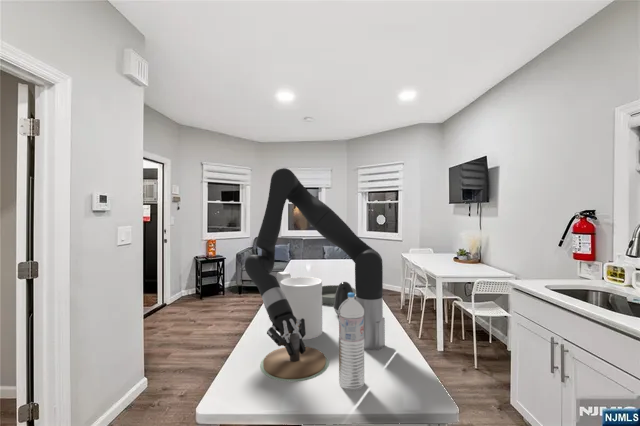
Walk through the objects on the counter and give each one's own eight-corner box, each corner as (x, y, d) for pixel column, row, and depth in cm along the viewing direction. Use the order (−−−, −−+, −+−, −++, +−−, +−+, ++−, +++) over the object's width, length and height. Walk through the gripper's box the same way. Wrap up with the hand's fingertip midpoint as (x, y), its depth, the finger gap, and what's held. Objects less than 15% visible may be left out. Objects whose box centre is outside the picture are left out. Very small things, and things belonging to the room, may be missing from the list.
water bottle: (348, 376, 89) (347, 288, 89) (369, 384, 85) (368, 292, 85) (333, 386, 84) (333, 293, 84) (355, 396, 79) (354, 298, 79)
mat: (340, 358, 100) (340, 356, 100) (304, 391, 82) (304, 389, 82) (287, 344, 110) (287, 342, 110) (245, 371, 92) (245, 369, 92)
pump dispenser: (331, 318, 137) (331, 283, 137) (335, 311, 147) (335, 278, 147) (354, 320, 134) (354, 285, 134) (357, 312, 144) (357, 279, 144)
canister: (326, 327, 127) (326, 278, 126) (315, 343, 111) (315, 287, 111) (289, 323, 131) (289, 276, 131) (274, 338, 116) (273, 284, 115)
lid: (336, 357, 99) (336, 330, 99) (303, 386, 83) (303, 354, 83) (287, 344, 109) (287, 320, 109) (249, 368, 93) (249, 340, 93)
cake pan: (306, 295, 176) (306, 287, 176) (346, 291, 184) (346, 283, 183) (319, 307, 153) (318, 298, 153) (364, 303, 160) (364, 294, 160)
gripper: (261, 302, 97) (283, 355, 88) (298, 294, 106) (322, 341, 97) (253, 315, 101) (274, 367, 92) (289, 306, 110) (311, 353, 101)
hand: (298, 354), depth 94 cm, fingers closed on lid, 3 cm apart
